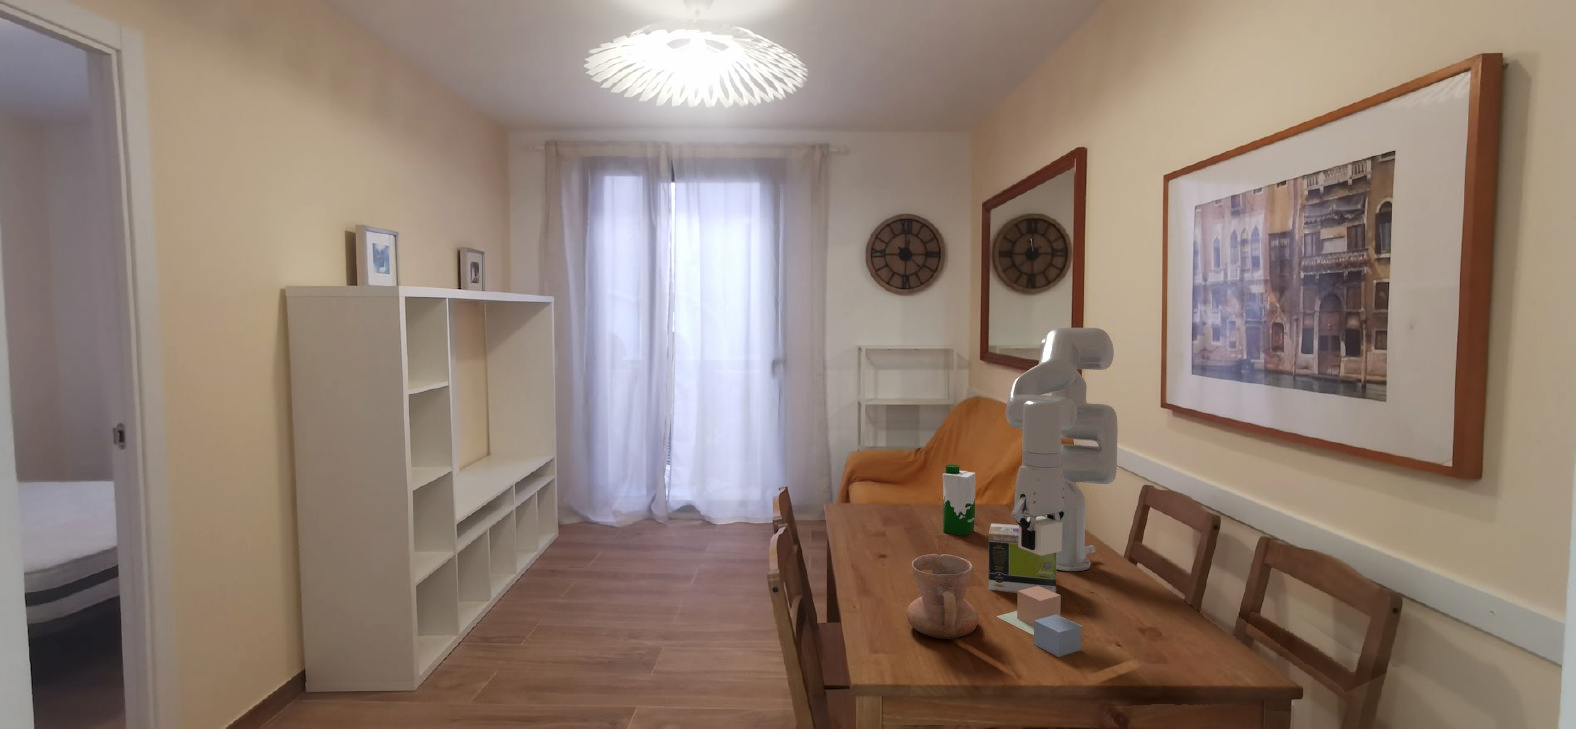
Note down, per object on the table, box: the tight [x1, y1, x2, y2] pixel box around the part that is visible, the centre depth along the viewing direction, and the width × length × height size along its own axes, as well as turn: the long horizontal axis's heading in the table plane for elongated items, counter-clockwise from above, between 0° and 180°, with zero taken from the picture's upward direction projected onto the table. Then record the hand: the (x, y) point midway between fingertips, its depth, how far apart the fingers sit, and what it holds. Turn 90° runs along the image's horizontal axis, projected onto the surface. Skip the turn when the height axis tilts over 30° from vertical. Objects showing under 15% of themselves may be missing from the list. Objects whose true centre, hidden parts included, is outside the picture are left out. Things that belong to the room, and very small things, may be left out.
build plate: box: [995, 610, 1083, 636], centre depth 147 cm, size 12×12×1 cm
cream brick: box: [1018, 516, 1062, 556], centre depth 146 cm, size 6×6×6 cm
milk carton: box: [942, 464, 976, 537], centre depth 213 cm, size 9×9×20 cm
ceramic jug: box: [906, 553, 979, 640], centre depth 145 cm, size 18×14×14 cm
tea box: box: [988, 522, 1057, 594], centre depth 167 cm, size 15×10×15 cm, turn 71°
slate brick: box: [1033, 615, 1082, 658], centre depth 135 cm, size 6×6×6 cm
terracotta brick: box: [1016, 586, 1062, 627], centre depth 147 cm, size 6×6×6 cm
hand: (1039, 544), depth 146 cm, fingers closed on cream brick, 6 cm apart
